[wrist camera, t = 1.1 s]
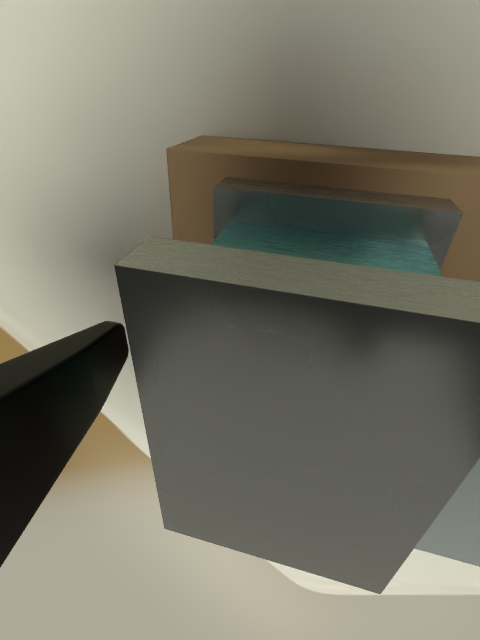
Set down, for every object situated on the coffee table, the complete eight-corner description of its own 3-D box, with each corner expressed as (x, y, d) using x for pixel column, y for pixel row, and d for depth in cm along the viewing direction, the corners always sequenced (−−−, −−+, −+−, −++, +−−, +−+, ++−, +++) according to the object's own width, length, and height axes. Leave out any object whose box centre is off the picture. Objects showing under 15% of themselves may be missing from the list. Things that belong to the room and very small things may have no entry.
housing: (451, 199, 7) (568, 337, 3) (369, 415, 11) (380, 594, 7) (226, 176, 8) (114, 265, 4) (223, 384, 12) (164, 528, 8)
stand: (499, 158, 9) (542, 181, 7) (403, 382, 13) (412, 435, 11) (201, 135, 10) (166, 149, 8) (207, 344, 15) (185, 385, 13)
